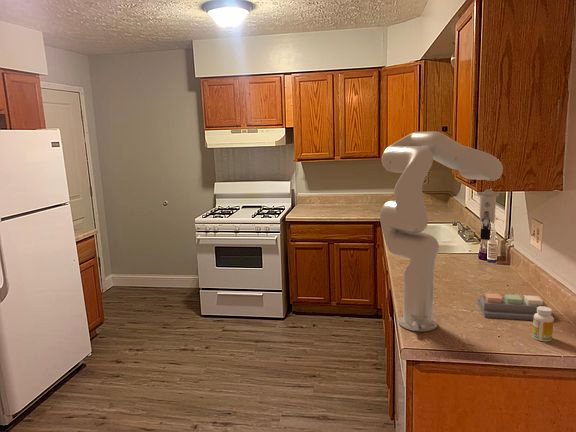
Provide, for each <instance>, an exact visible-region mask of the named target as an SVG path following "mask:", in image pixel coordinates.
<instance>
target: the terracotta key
mask: <svg viewBox="0 0 576 432" xmlns="http://www.w3.org/2000/svg"><path fill="white" fill-rule="evenodd" d="M484 296H485V300H486V302H487V303H502V298H501V297H502V296H501V295H500V293H490V292H489V293H487V292H486V293H484Z"/></svg>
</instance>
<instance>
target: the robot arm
mask: <svg viewBox="0 0 576 432" xmlns="http://www.w3.org/2000/svg"><path fill="white" fill-rule="evenodd" d="M497 158H498V157H495V156H494V155H492V154H491V153H489V152H486V151H483V150H479V149H476V148H473V147H471V146H466V145H463V144H461V143H459V142H458V141H456V140H454V139H453V138H451V137H449V136H448V135H447V134H444V133H442V132H440V131H430V130H429V131H414V132H411V133H409V134H408V135H406V136H404V137H402V138H400V139H399V140H397V141H395V142H393V143H392V144H390V145H389V146H387V147H386V148H385V150H384V151H383V153H382V155H381V164H382V167H383V168H384V169H385V170H386V171H387V172H390V173H397V174H399V173H400V177H399V178H398V180H397V181H396V184H395V185H394V188H393V189H394V190H393V197H394V200H393V199H392V200H388V201H386V202H385V203H384V204H383V205H382V207H381V210H380V212H379V221H380V226H381V229H382V233H383V237H384V241H385V245H386V247H387V249H388V251H389V252H390V253H391V254H392V255H394V256H397V257H400V258H403V259H407V260H410V262H409V264H408V265H407V266H406V268H405V270H404V274H403V307H402V308H403V309H402V310H403V311H402V312H403V314H402V315H400V316H398V320H397V321H398V324H399V326H401V327H402V328H404V329H405V330H408V331H413V332H423V333H424V332H430V331H434V330H435V329H436V328H438V320H436V318H434V317H433V316H434V315H433V314H434V312H433V311H434V289H435V287H434V285H435V270H436V263H437V257H438V254H439V248H440V245H439V242H438V240H437V238H436V237H434V236H433V235H431V234H429V233H425V232H423V231H425V230H426V229H427V227H428V220H429V219H428V214H427V209H426V205H425V204H426V203H425V200H424V195H423V185H424V182H425V179H426V177H427V175H428V173H429V171H430V170H431V168H432V166H433V161H436V162H437V163H439V164H441V165H443V166H444V167H447V168H448V169H453V170H455V171H458V172H459V175H460V176H461V177H463V178H464V179H466V180H475V181H476V180H487V181H495V180H497V179H499V178H500V179H501V177H502V175H503V171H504V167H503V164H502V161H501V162H500V161H499V159H500V158H499V159H497ZM476 196H478V197H479V222H480V223H481V228H480V240H481V241H482V240H483V241H490V239H491V229H492V228H491V226H492V225H491V223H492V224H494V223H495V220H496V219H495V218H496V209H497V207H496V204H497V202H496V201H497V197H499V196H500V191H499V192H494V191H492V188H490V189H486V190H485V191H484V192H477V191H476Z"/></svg>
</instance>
